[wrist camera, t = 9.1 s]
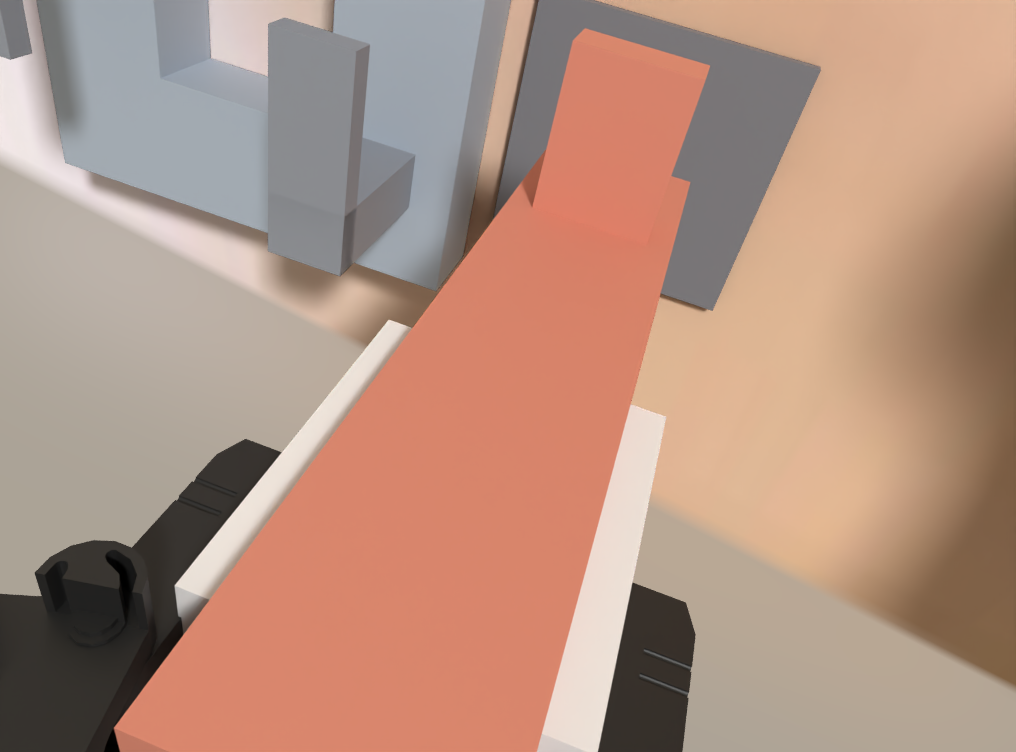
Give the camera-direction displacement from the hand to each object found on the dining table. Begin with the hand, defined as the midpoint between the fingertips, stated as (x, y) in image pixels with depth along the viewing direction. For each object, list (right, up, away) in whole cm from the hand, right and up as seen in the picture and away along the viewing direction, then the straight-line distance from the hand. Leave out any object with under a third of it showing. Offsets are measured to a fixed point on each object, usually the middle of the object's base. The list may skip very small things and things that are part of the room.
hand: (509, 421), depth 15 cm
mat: (+4, +8, +12) cm, 15 cm away
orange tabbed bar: (+3, +5, +8) cm, 10 cm away
